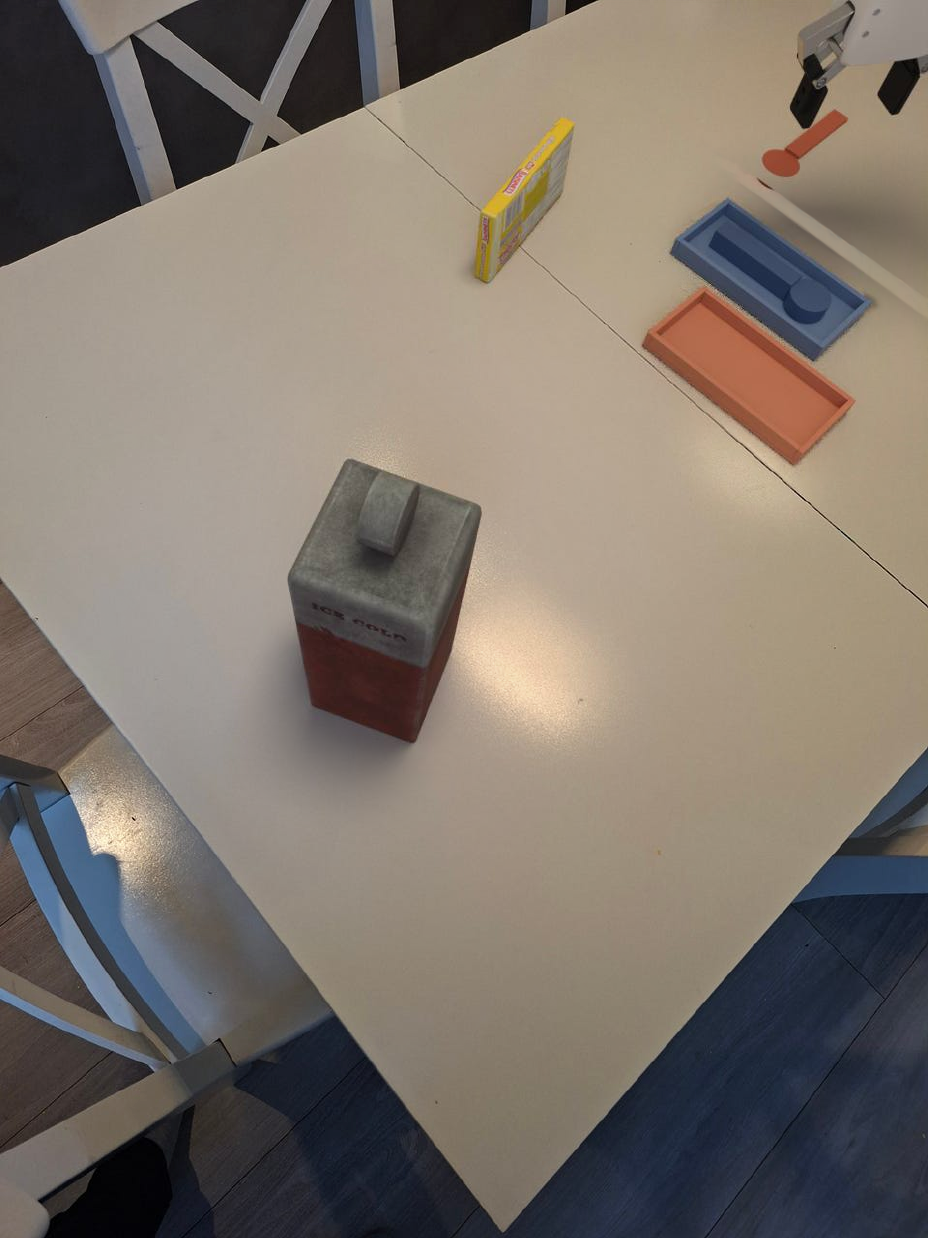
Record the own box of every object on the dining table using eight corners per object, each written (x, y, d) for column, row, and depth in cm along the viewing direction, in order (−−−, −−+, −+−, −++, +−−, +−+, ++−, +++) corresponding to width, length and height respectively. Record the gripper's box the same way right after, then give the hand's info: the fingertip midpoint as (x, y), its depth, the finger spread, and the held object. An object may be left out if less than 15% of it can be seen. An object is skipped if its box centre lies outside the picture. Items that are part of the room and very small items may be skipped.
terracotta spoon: (817, 120, 106) (826, 102, 104) (847, 140, 105) (857, 123, 103) (748, 174, 101) (755, 157, 99) (778, 196, 100) (787, 179, 98)
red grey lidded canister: (327, 601, 75) (305, 388, 49) (452, 647, 74) (495, 455, 49) (283, 695, 71) (233, 517, 46) (414, 744, 71) (438, 592, 45)
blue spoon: (701, 251, 95) (708, 235, 93) (726, 231, 96) (733, 215, 94) (808, 330, 91) (818, 315, 89) (832, 309, 93) (842, 293, 91)
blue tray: (862, 315, 94) (872, 301, 92) (813, 361, 91) (822, 348, 89) (721, 212, 98) (727, 197, 96) (669, 252, 95) (675, 237, 93)
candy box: (546, 184, 97) (560, 114, 90) (563, 192, 97) (579, 123, 89) (470, 275, 91) (479, 208, 83) (488, 284, 91) (499, 218, 83)
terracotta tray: (846, 412, 88) (856, 400, 86) (793, 465, 85) (803, 453, 83) (697, 299, 92) (703, 284, 91) (641, 345, 89) (647, 331, 87)
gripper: (1014, -129, 72) (900, 74, 88) (831, -112, 69) (746, 97, 84) (1066, -73, 69) (939, 126, 85) (877, -52, 66) (780, 152, 81)
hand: (843, 111), depth 85 cm, fingers open, 9 cm apart
